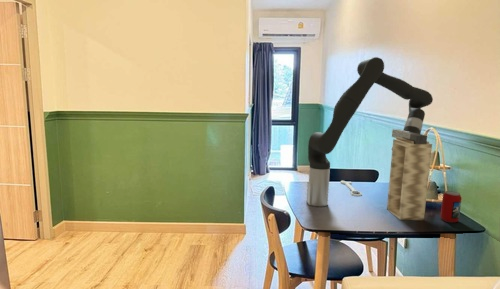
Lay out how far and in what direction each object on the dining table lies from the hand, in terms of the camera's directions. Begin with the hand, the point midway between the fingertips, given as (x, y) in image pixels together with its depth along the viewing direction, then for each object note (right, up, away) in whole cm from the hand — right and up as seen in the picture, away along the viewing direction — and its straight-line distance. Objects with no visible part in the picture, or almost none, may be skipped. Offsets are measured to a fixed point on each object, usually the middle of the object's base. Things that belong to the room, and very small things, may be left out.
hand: (403, 159), depth 161 cm
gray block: (-3, +9, -9) cm, 13 cm away
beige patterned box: (-3, -23, -8) cm, 25 cm away
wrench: (-16, -18, +31) cm, 39 cm away
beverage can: (+13, -25, -14) cm, 31 cm away
